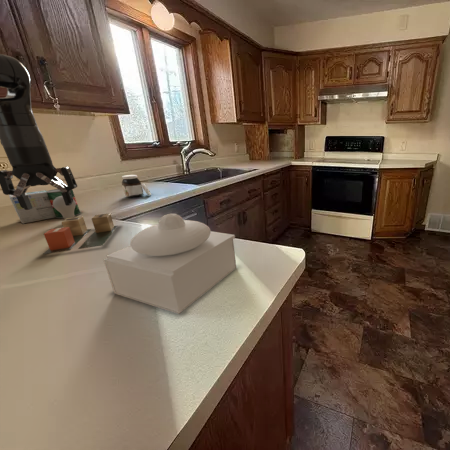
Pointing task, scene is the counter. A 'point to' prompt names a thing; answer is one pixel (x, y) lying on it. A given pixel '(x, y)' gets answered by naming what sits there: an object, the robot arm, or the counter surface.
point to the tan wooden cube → (75, 225)
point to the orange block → (59, 238)
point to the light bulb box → (34, 207)
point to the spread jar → (133, 186)
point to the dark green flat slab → (92, 241)
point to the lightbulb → (64, 207)
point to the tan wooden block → (103, 223)
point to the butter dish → (171, 263)
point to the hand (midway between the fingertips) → (49, 207)
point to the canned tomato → (56, 193)
